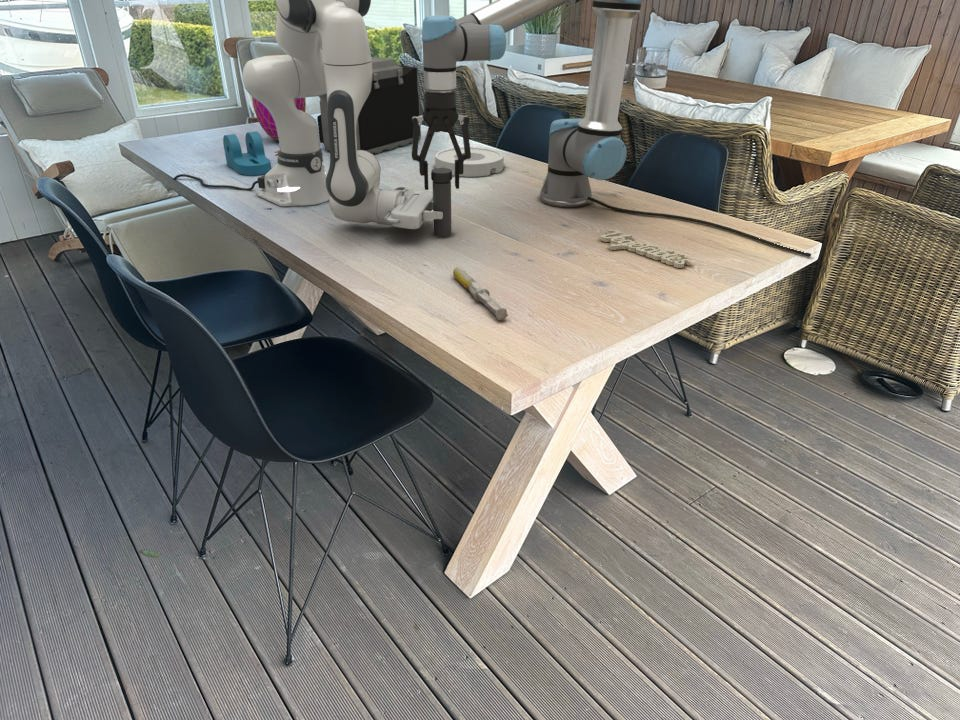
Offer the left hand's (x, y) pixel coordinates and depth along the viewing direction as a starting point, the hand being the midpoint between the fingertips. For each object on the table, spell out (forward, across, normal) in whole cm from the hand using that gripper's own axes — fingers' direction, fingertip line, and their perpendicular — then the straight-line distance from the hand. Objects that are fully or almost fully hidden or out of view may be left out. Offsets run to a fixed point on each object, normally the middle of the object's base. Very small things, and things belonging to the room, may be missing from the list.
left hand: (445, 211), depth 174 cm
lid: (-1, 0, -10) cm, 10 cm away
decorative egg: (-83, +89, +6) cm, 122 cm away
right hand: (-1, 0, -6) cm, 6 cm away
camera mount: (-77, +48, +6) cm, 91 cm away
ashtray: (-6, +65, +6) cm, 65 cm away
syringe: (+15, -36, +6) cm, 39 cm away
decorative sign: (+49, -2, +6) cm, 50 cm away
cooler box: (-48, +87, +6) cm, 100 cm away
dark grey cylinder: (-1, 0, +6) cm, 6 cm away
